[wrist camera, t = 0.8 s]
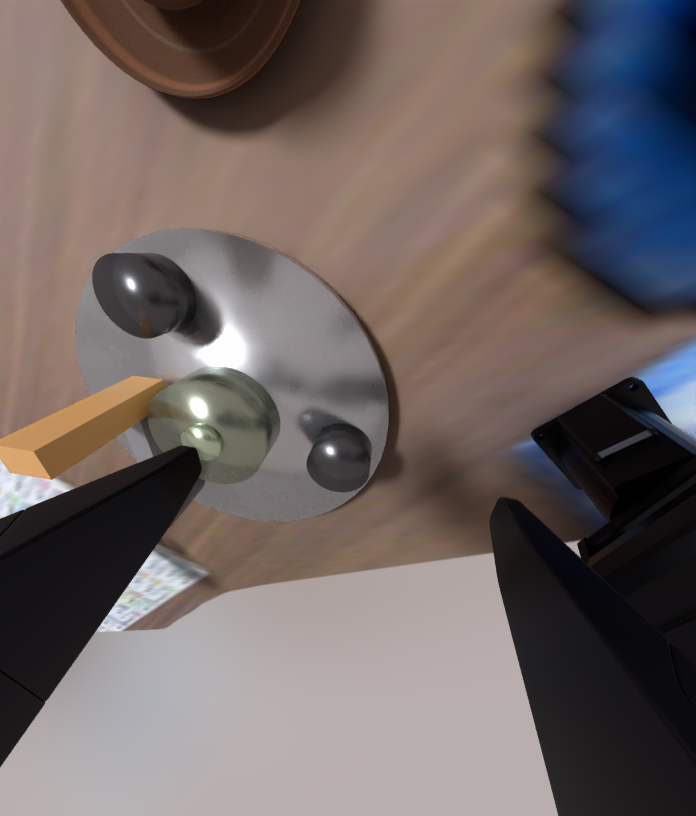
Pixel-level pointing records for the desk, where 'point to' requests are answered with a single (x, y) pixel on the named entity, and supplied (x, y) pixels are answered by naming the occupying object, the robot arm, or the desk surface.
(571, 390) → the desk surface
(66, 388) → the desk surface
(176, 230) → the levelling plate
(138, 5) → the cup and saucer
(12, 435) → the grey and tan piece
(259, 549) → the desk surface
